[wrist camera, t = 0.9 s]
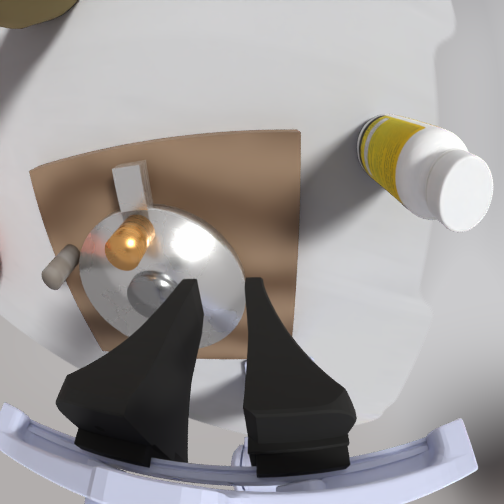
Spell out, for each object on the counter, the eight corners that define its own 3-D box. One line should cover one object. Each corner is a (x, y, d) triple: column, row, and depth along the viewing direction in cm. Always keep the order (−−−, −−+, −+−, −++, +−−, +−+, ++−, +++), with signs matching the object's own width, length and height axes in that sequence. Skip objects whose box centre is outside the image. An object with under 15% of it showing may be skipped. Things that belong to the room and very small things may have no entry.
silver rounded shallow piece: (250, 341, 25) (250, 378, 22) (115, 336, 26) (102, 367, 22) (237, 151, 16) (232, 168, 13) (56, 177, 17) (22, 198, 13)
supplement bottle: (356, 183, 20) (419, 251, 11) (352, 113, 17) (429, 136, 9) (415, 179, 19) (491, 238, 11) (415, 114, 17) (506, 142, 8)
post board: (289, 346, 29) (293, 388, 25) (106, 341, 30) (91, 376, 25) (297, 129, 18) (313, 142, 13) (39, 165, 18) (-1, 188, 14)
